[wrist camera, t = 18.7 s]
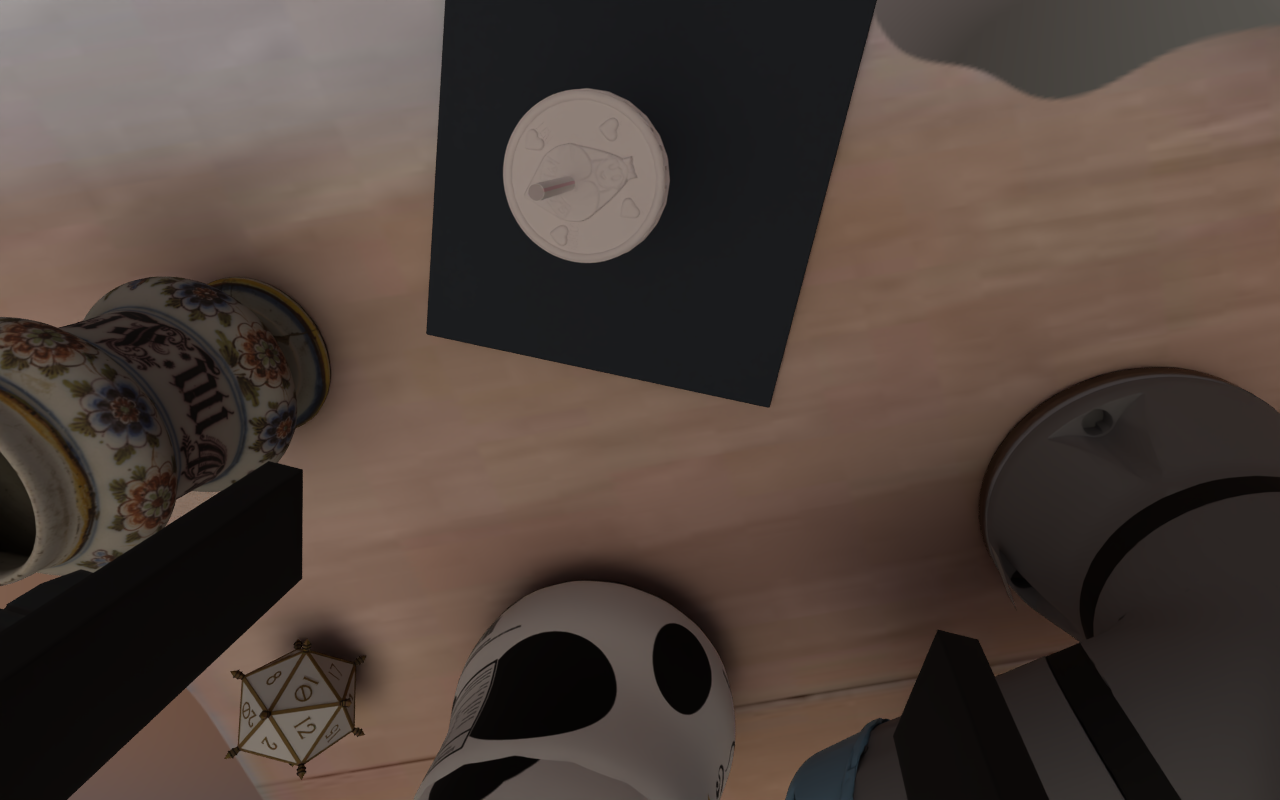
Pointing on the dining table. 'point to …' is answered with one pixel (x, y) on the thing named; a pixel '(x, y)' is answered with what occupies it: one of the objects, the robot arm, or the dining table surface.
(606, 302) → the mat
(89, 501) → the apothecary jar
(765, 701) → the dining table surface
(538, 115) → the smoothie
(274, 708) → the game die
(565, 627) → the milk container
